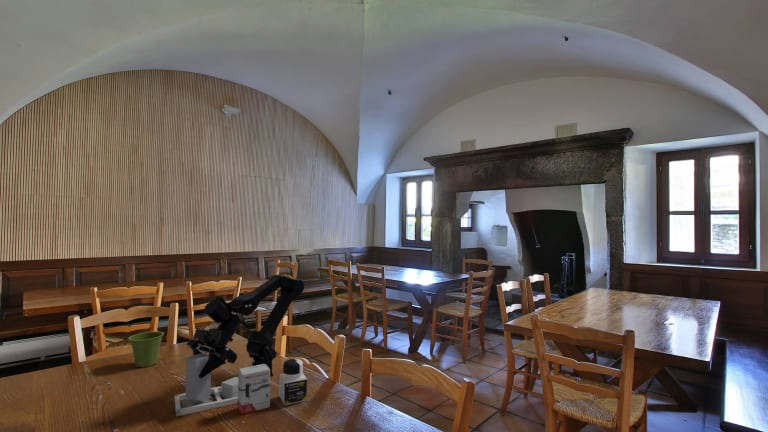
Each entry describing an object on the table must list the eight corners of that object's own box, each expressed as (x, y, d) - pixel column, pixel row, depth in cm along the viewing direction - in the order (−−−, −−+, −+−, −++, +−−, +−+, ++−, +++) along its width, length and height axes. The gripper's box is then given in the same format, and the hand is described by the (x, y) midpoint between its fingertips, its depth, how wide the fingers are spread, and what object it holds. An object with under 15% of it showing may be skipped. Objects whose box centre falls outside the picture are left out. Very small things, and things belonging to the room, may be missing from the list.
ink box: (241, 414, 114) (241, 374, 114) (237, 408, 118) (237, 368, 118) (270, 407, 119) (270, 368, 119) (265, 400, 123) (265, 363, 123)
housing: (247, 385, 134) (247, 380, 134) (255, 399, 124) (255, 394, 124) (174, 400, 123) (174, 395, 123) (176, 416, 113) (176, 411, 113)
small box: (235, 390, 130) (235, 375, 130) (247, 394, 128) (247, 379, 128) (220, 397, 125) (220, 382, 126) (232, 401, 123) (232, 386, 123)
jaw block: (200, 390, 125) (200, 353, 125) (210, 394, 122) (210, 355, 122) (185, 397, 120) (186, 357, 121) (195, 400, 118) (195, 361, 118)
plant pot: (155, 356, 162) (155, 329, 162) (169, 363, 155) (169, 334, 155) (122, 365, 152) (123, 336, 152) (136, 372, 145) (136, 342, 145)
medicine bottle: (284, 405, 120) (284, 366, 120) (279, 396, 126) (279, 359, 126) (307, 400, 123) (307, 362, 123) (300, 392, 129) (301, 355, 130)
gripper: (192, 313, 130) (158, 357, 120) (229, 321, 120) (195, 369, 111) (213, 331, 136) (183, 374, 127) (249, 340, 127) (220, 387, 117)
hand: (194, 375), depth 120 cm, fingers closed on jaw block, 5 cm apart
